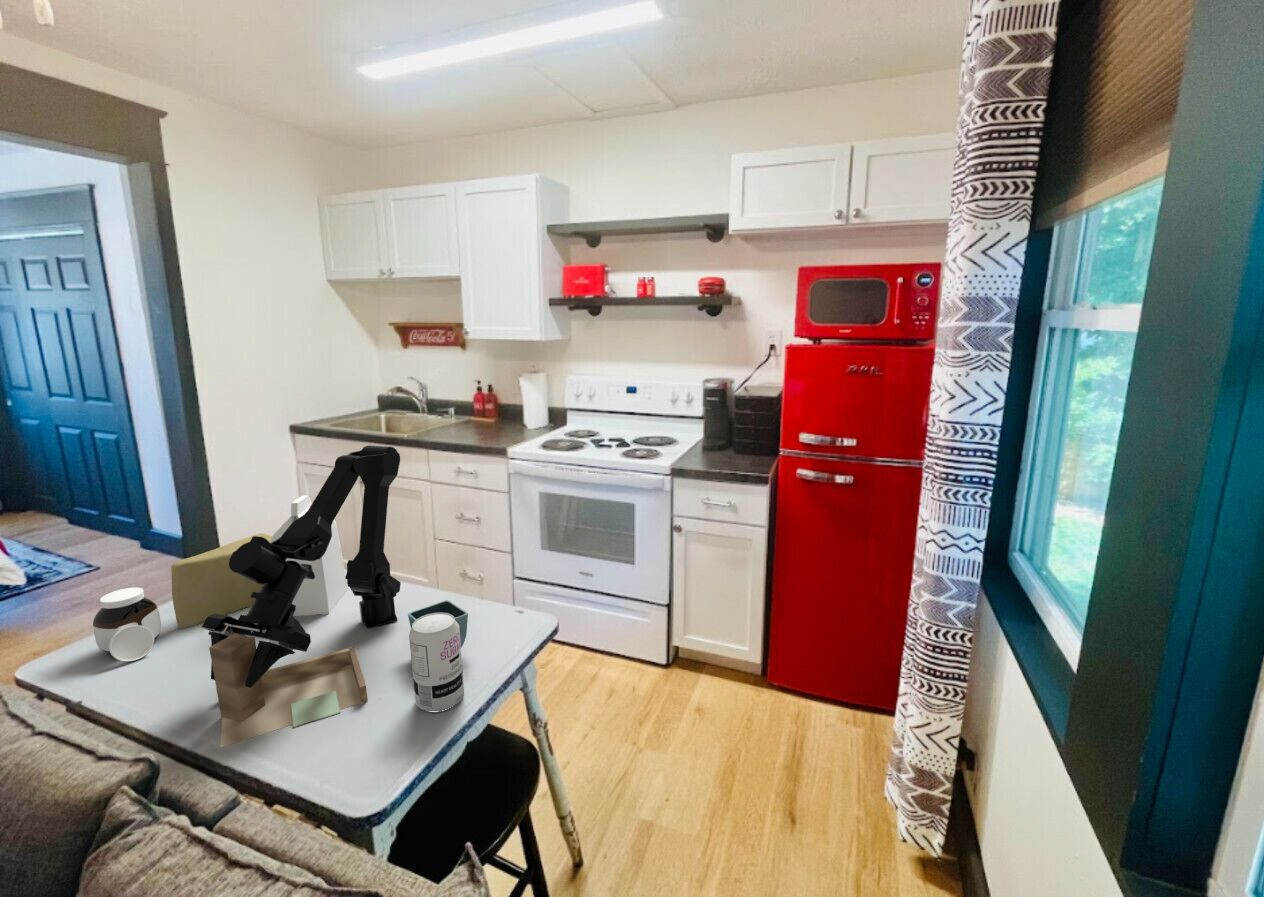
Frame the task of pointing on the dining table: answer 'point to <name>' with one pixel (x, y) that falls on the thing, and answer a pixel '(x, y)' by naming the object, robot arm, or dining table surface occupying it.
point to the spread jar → (126, 624)
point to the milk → (318, 570)
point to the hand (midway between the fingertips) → (230, 683)
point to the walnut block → (236, 677)
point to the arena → (302, 695)
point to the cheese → (210, 585)
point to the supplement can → (436, 661)
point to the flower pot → (444, 607)
